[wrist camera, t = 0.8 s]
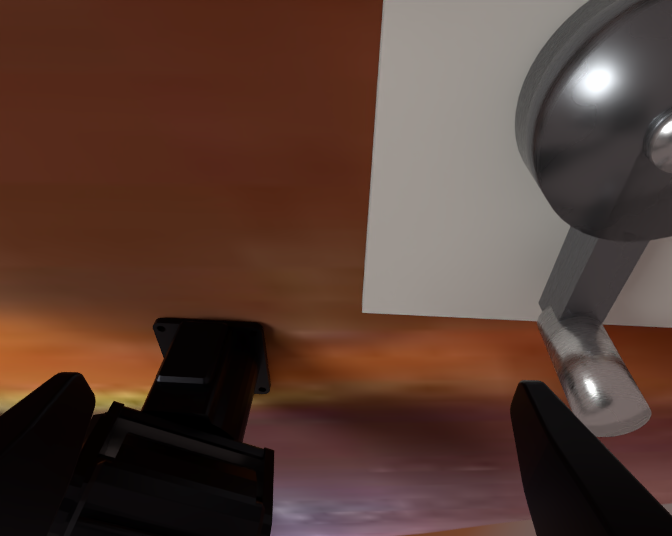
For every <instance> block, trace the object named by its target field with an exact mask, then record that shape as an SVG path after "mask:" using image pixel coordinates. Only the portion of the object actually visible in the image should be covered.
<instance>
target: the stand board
mask: <svg viewBox="0 0 672 536" xmlns="http://www.w3.org/2000/svg"><path fill="white" fill-rule="evenodd" d="M588 1H589V0H383V12H382V26H381V41H380V55H379V69H378V83H377V98H376V112H375V126H374V140H373V155H372V169H371V183H370V197H369V212H368V226H367V240H366V254H365V269H364V283H363V297H362V313H380V314H400V315H421V316H441V317H462V318H483V319H503V320H524V321H537V320H538V317H539V316H540V314H541V313H542V310H541V308H540V306H539V303H538V302H539V300H540V298H541V295H542V293H543V290H544V288H545V286H546V283H547V281H548V279H549V276H550V274H551V271H552V269H553V267H554V264H555V262H556V260H557V257H558V255H559V252H560V250H561V248H562V245H563V243H564V241H565V238H566V236H567V233H568V231H569V229H570V225H569V224H567V223H566V222H565V221H563V220H562V219H561V218H560V217H559V216H558V215H557V214H556V212H555V211H554V210H553V209H552V207H551V205H550V204H549V202H548V201H547V199H546V198H545V196H544V194H543V193H542V191H541V189H540V188H539V186H538V185H537V183H536V181H535V180H534V178H533V177H532V175H531V173H530V172H529V170H528V169H527V167H526V165H525V164H524V162H523V160H522V158H521V155H520V153H519V151H518V146H517V142H516V137H515V113H516V107H517V102H518V97H519V94H520V91H521V88H522V85H523V82H524V80H525V78H526V76H527V74H528V71H529V69H530V67H531V65H532V64H533V62H534V60H535V59H536V57H537V55H538V54H539V52H540V50H541V49H542V48H543V46H544V45H545V44H546V42H547V41H548V40H549V38H550V37H551V36H552V35H553V33H554V32H555V31H556V30H557V29H558V28H559V27H560V26H561V25H562V24H563V23H564V22H565V20H567V19H568V18H569V17H570V16H571V15H572V14H573V13H574V12H575V11H577V10H578V9H579V8H580V7H581V6H582V5H584V4H585V3H586V2H588ZM602 324H606V325H627V326H647V327H668V328H672V236H671V237H666V238H661V239H656V240H650V241H649V243H648V245H647V246H646V248H645V250H644V252H643V253H642V255H641V257H640V259H639V260H638V262H637V264H636V266H635V267H634V269H633V271H632V273H631V274H630V276H629V278H628V280H627V281H626V283H625V285H624V287H623V288H622V290H621V292H620V294H619V295H618V297H617V299H616V301H615V302H614V304H613V306H612V308H611V309H610V311H609V313H608V315H607V316H606V318H605V320H604V322H603V323H602Z"/></svg>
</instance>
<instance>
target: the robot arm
mask: <svg viewBox="0 0 672 536" xmlns="http://www.w3.org/2000/svg"><path fill="white" fill-rule="evenodd" d="M153 330H154V332H155V335H156V338H157V341H158V343H159V346H160V349H161V352H162V354H163V357H164V360H163V362H162V364H161V366H160V368H159V371H158V373H157V375H156V378H155V381H154V383H153V385H152V387H151V389H150V392H149V394H148V396H147V398H146V400H145V403H144V405H143V407H142V409H141V411H138V410H135V409H132V408H129V407H125V406H124V404H122V403H119V402H116V401H113V403H112V405H111V407H110V408H109V410H108V412H105V413H103V414H97V415H93V417H92V414H93V411H94V408H95V395H94V393H93V392H92V390H91V388H90V387H89V385H88V383H87V382H86V380H85V378H84V377H83V375H82V374H80V373H78V372H61V373H58V374H56V375H54V376H53V377H52V378H50V379H49V380H48V381H46V382H45V383H44V384H42V385H41V386H40V387H38V388H37V389H36V390H34V391H33V392H32V393H30V394H29V395H28V396H26V397H25V398H24V399H22V400H21V401H20V402H18V403H17V404H16V405H14V406H13V407H12V408H10V409H9V410H8V411H6V412H5V413H4V414H2V415H1V416H0V536H270V532H271V526H272V511H273V477H274V450H271V449H268V448H264V449H262V448H259V447H256V446H252V445H249V444H246V443H243V438H244V434H245V429H246V425H247V421H248V417H249V412H250V408H251V404H252V400H253V395H254V394H267V393H269V391H270V386H271V383H270V376H269V368H268V361H267V353H266V346H265V338H264V331H263V327H262V326H261V325H260V324H258V323H252V322H231V321H211V320H191V319H171V318H158V319H156V321H155V323H154V325H153ZM510 415H511V421H512V427H513V432H514V438H515V444H516V449H517V455H518V461H519V466H520V472H521V478H522V483H523V488H524V492H525V496H526V500H527V504H528V507H529V511H530V514H531V518H532V521H533V524H534V528H535V531H536V535H537V536H672V515H670V513H669V512H668V511H667V510H666V509H665V508H664V507H663V506H662V505H661V504H660V503H659V502H658V501H657V500H656V499H655V498H654V497H653V496H652V495H651V494H650V493H649V492H648V490H647V489H646V488H645V487H644V486H643V485H642V484H641V483H640V482H639V481H638V480H637V479H636V478H635V477H634V476H633V475H632V474H631V473H630V472H629V471H628V470H627V469H626V468H625V467H624V465H623V464H622V463H621V462H620V461H619V460H618V459H617V458H616V457H615V456H614V455H613V454H612V453H611V452H610V451H609V450H608V449H607V448H606V447H605V446H604V445H603V444H602V443H601V442H600V440H599V439H598V438H597V437H596V436H595V435H594V434H593V433H592V432H591V431H590V430H589V429H588V428H587V427H586V426H585V425H584V424H583V423H582V422H581V421H580V420H579V419H578V418H577V417H576V416H575V414H574V413H573V412H572V411H571V410H570V409H569V408H568V407H567V406H566V405H565V404H564V403H563V402H562V401H561V400H560V399H559V398H558V397H557V396H556V395H555V394H554V393H553V392H552V391H551V389H550V388H549V387H548V386H547V385H546V384H545V383H543V382H541V381H535V380H523V381H520V382H519V384H518V386H517V389H516V391H515V394H514V397H513V400H512V403H511V407H510ZM91 417H92V419H91ZM90 420H91V421H90Z"/></svg>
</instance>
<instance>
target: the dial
mask: <svg viewBox="0 0 672 536" xmlns="http://www.w3.org/2000/svg"><path fill="white" fill-rule="evenodd" d="M515 137H516V142H517V146H518V151H519V153H520V155H521V158H522V160H523V162H524V164H525V165H526V167H527V169H528V170H529V172H530V173H531V175H532V177H533V178H534V180H535V181H536V183H537V185H538V186H539V188H540V189H541V191H542V193H543V194H544V196H545V198H546V199H547V201H548V202H549V204H550V205H551V207H552V209H553V210H554V211H555V212H556V214H557V215H558V216H559V217H560V218H561V219H562V220H563V221H565V222H566V223H567V224H569V225H570V229H569V231H568V233H567V236H566V238H565V241H564V243H563V245H562V248H561V250H560V252H559V255H558V257H557V260H556V262H555V264H554V267H553V269H552V271H551V274H550V276H549V279H548V281H547V283H546V286H545V288H544V290H543V293H542V295H541V298H540V300H539V302H538V303H539V306H540V308H541V310H542V313H541V314H540V316H539V317H538V320H537V326H538V329H539V331H540V334H541V336H542V339H543V341H544V344H545V346H546V348H547V351H548V353H549V356H550V358H551V361H552V363H553V366H554V368H555V370H556V373H557V375H558V378H559V380H560V383H561V385H562V388H563V390H564V392H565V395H566V397H567V400H568V402H569V405H570V407H571V410H572V412H573V413H574V414H575V416H576V417H577V418H578V419H579V420H580V421H581V422H582V423H583V424H584V425H585V426H586V427H587V428H588V429H589V430H590V431H591V432H592V433H593V434H594V435H595V436H597V437H612V436H619V435H623V434H627V433H630V432H632V431H635V430H637V429H638V428H640V427H642V426H643V425H644V424H646V423H647V422H648V420H649V419H650V417H651V410H650V408H649V406H648V404H647V402H646V401H645V399H644V397H643V395H642V394H641V392H640V390H639V388H638V387H637V385H636V383H635V381H634V379H633V378H632V376H631V374H630V372H629V371H628V369H627V367H626V365H625V364H624V362H623V360H622V358H621V357H620V355H619V353H618V351H617V350H616V348H615V346H614V344H613V342H612V341H611V339H610V337H609V335H608V334H607V332H606V330H605V328H604V327H603V325H602V323H603V322H604V320H605V318H606V316H607V315H608V313H609V311H610V309H611V308H612V306H613V304H614V302H615V301H616V299H617V297H618V295H619V294H620V292H621V290H622V288H623V287H624V285H625V283H626V281H627V280H628V278H629V276H630V274H631V273H632V271H633V269H634V267H635V266H636V264H637V262H638V260H639V259H640V257H641V255H642V253H643V252H644V250H645V248H646V246H647V245H648V243H649V241H650V240H656V239H661V238H666V237H671V236H672V0H589V1H588V2H586V3H585V4H584V5H582V6H581V7H580V8H579V9H578V10H577V11H575V12H574V13H573V14H572V15H571V16H570V17H569V18H568V19H567V20H565V22H564V23H563V24H562V25H561V26H560V27H559V28H558V29H557V30H556V31H555V32H554V33H553V35H552V36H551V37H550V38H549V40H548V41H547V42H546V44H545V45H544V46H543V48H542V49H541V50H540V52H539V54H538V55H537V57H536V59H535V60H534V62H533V64H532V65H531V67H530V69H529V71H528V74H527V76H526V78H525V80H524V82H523V85H522V88H521V91H520V94H519V97H518V102H517V107H516V113H515Z"/></svg>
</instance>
